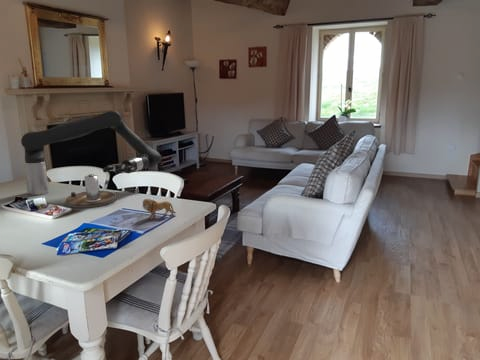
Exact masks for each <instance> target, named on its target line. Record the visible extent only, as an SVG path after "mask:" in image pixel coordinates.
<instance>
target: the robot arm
mask: <svg viewBox="0 0 480 360" xmlns="http://www.w3.org/2000/svg"><path fill="white" fill-rule="evenodd" d="M107 128H108V129H109V128H110V129H112V130H113V131H115V132H116V133H117V134H118V135H120V137H122V138H123V140H125V142H126V143H127V144H128V145H129V146H130V147H131V148H132V149H133V150H134V152H136V153H137V154H138V155H140V156H138V157H137V156H136V157H131V158H127V159H124V160H123V161H122V162H121V163H112V164H109V165H106V166H105V167H103V168H102V171H103V173H108V172H114V173H115V174H116V175H118V174H122V173H125V174H132V173H134V172H139V171H140V170H143V169H153V168H154V167H155V166H157V165H158V164H159V163H161V161H162V159H163V158H162V155H161V154H160V152H159V151H157V150H155V149H154V148H152V147H150V145H148V144H147V143H146V142H145V141H144V140H143V139H141V137H139V136H138V135H137V134H136V133H135V132H133V131H132V130H131V129H130V128H129V127H128V126H127V125H126V124H125V122H124V121H123V119H122V115H121V113H119V112H118V111H116V110H108V111H105V112H103V113H100V114H97V115H93V116H89V117H84V118H80V119H74V120H71V121H67V122H64V123H61V124H57V125H55V126H53V127H51V128H48V129H46V130H41V131H34V130H30V131H27V132H26V133H24V134H23V135H22V137H21V140H20V142H21V143H20V144H21V145H22V147H24V163H25V169H26V176H25V183H26V190H27V194H28V195H32V196H39V195H44V194H48V193H49V192H50V190H49V183H48V174H47V167H46V160H45V159H46V158H45V156H46V155H45V154H46V153H45V146H48V145H52V144H54V143H59V142H65V141H69V140H73V139H74V140H75V139H77V138H82V137H83V136H87V135H88V134H91V133H93V132H95V131H98V130H102V129H107ZM143 155H147V156H143Z"/></svg>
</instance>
